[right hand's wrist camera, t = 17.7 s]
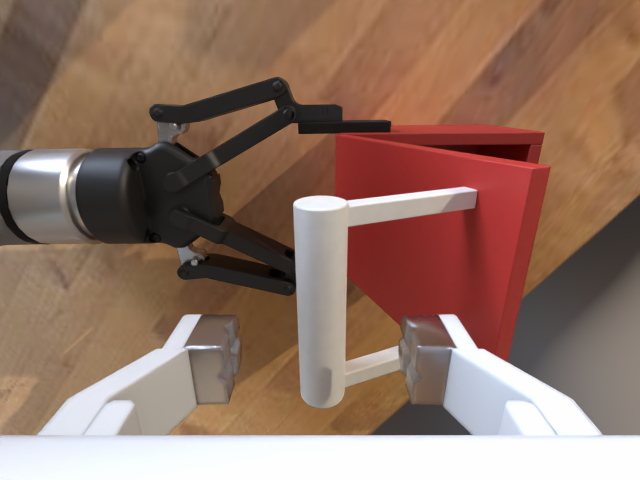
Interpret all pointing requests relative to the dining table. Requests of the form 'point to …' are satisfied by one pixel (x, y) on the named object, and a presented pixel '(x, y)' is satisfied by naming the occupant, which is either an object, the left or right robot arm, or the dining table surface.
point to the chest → (468, 139)
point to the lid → (411, 251)
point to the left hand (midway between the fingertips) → (383, 193)
